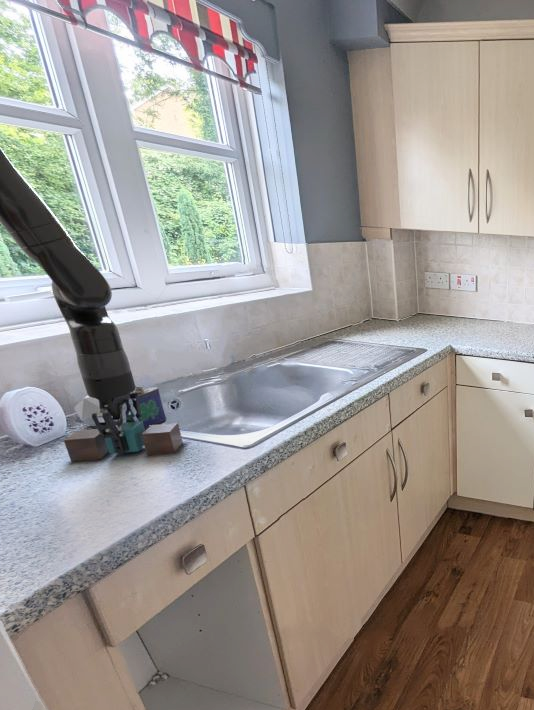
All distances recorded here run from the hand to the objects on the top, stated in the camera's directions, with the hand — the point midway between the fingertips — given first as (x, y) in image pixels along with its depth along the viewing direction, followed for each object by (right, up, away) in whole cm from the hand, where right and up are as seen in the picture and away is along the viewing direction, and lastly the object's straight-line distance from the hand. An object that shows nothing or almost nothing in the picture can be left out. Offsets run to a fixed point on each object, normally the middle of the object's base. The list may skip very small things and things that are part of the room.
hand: (128, 445), depth 98 cm
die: (-17, +4, +13) cm, 21 cm away
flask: (-6, +3, +12) cm, 14 cm away
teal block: (0, 0, 0) cm, 0 cm away
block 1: (-6, -2, -2) cm, 7 cm away
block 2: (+6, -1, +3) cm, 7 cm away
